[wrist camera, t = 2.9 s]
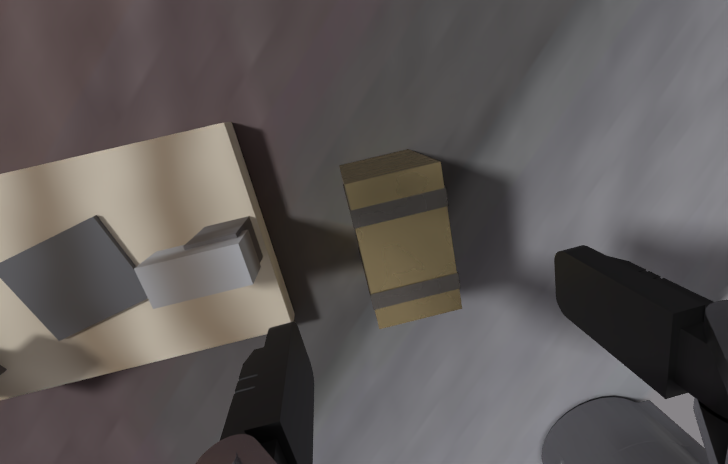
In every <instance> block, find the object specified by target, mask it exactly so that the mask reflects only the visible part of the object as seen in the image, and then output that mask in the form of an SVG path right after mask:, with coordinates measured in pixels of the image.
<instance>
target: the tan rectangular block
mask: <svg viewBox="0 0 728 464" xmlns="http://www.w3.org/2000/svg"><path fill="white" fill-rule="evenodd" d="M339 166H340V170H341V174H342V178H343V182H344V184H343V186H344V190H345V194H346V198H347V202H348V206H349V210H350V214H351V218H352V222H353V226H354V229H355V232H356V236H357V240H358V245H359V247H358V248H359V252H360V256H361V260H362V264H363V268H364V272H365V277H366V281H367V285H368V289H369V293H370V297H371V301H372V305H373V309H374V310H375V313H376V317H377V321H378V325H379V329H382V328H386V327H390V326H394V325H398V324H402V323H406V322H410V321H414V320H418V319H422V318H426V317H430V316H434V315H438V314H442V313H446V312H450V311H454V310H458V309H462V305H461V298H460V291H459V289H460V281H459V275H458V272H457V271H456V264H455V257H454V250H453V243H452V236H451V230H450V223H449V216H448V209H447V206H449V205H448V198H447V192H446V187H444V182H443V175H442V168H441V162H440V161H437V160H435V159H432V158H430V157H427V156H424V155H422V154H419V153H416V152H414V151H411V150H409V149H407V150H403V151H399V152H394V153H390V154H386V155H382V156H377V157H373V158H369V159H365V160H361V161H356V162H352V163H348V164H344V165H339Z"/></svg>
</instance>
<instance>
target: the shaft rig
mask: <svg viewBox="0 0 728 464" xmlns="http://www.w3.org/2000/svg"><path fill="white" fill-rule="evenodd" d="M294 316H295V313H294V310H293V307H292V304H291V301H290V298H289V295H288V292H287V289H286V286H285V283H284V280H283V277H282V274H281V271H280V268H279V265H278V261H277V258H276V255H275V252H274V249H273V246H272V243H271V240H270V237H269V234H268V231H267V228H266V225H265V222H264V219H263V216H262V213H261V210H260V207H259V204H258V201H257V198H256V195H255V192H254V189H253V185H252V182H251V179H250V176H249V173H248V170H247V167H246V164H245V161H244V158H243V155H242V152H241V149H240V146H239V143H238V140H237V137H236V134H235V131H234V128H233V125H232V122H226V123H220V124H216V125H211V126H207V127H203V128H198V129H194V130H190V131H185V132H181V133H177V134H172V135H168V136H164V137H159V138H155V139H151V140H146V141H142V142H138V143H133V144H129V145H125V146H120V147H116V148H112V149H107V150H103V151H99V152H94V153H90V154H86V155H81V156H77V157H73V158H69V159H64V160H60V161H56V162H51V163H47V164H43V165H38V166H34V167H30V168H25V169H21V170H17V171H12V172H8V173H4V174H0V400H4V399H8V398H12V397H16V396H20V395H24V394H28V393H32V392H36V391H40V390H44V389H48V388H52V387H56V386H60V385H64V384H68V383H72V382H76V381H80V380H84V379H88V378H92V377H96V376H100V375H104V374H108V373H112V372H116V371H120V370H124V369H128V368H132V367H136V366H140V365H144V364H148V363H152V362H156V361H160V360H164V359H168V358H172V357H176V356H180V355H184V354H188V353H192V352H196V351H200V350H204V349H208V348H212V347H216V346H220V345H224V344H228V343H232V342H236V341H240V340H244V339H248V338H252V337H256V336H260V335H264V334H267V333H268V330H269V328H271V327H275V326H278V325H282V324H286V323H290V322H293V321H294Z"/></svg>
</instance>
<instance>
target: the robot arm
mask: <svg viewBox="0 0 728 464" xmlns="http://www.w3.org/2000/svg"><path fill="white" fill-rule="evenodd" d="M554 262H555V284H556V299H557V303H558V305H559V308H560V310H561V311H562V313H563V314H564V315H565V316H566V317H567V318H568V319H569V320H570V321H572V322H573V323H574V324H575V325H576V326H578V327H579V328H580V329H581V330H583V331H584V332H585V333H586V334H587V335H589V336H590V337H591V338H592V339H593V340H595V341H596V342H597V343H598V344H600V345H601V346H602V347H603V348H604V349H606V350H607V351H608V352H609V353H610V354H612V355H613V356H614V357H615V358H617V359H618V360H619V361H620V362H621V363H623V364H624V365H625V366H626V367H627V368H629V369H630V370H631V371H632V372H634V373H635V374H636V375H637V376H638V377H640V378H641V379H642V380H643V381H644V382H646V383H647V384H648V385H649V386H651V387H652V388H653V389H654V390H655V391H657V392H658V393H659V394H660V395H661V396H663V397H664V398H665V399H667V398H671V397H674V396H678V395H681V394H685V393H690V394H691V395H692V396H693V397H695V399H694V406H693V407H694V413H695V416H696V420H697V423H698V426H699V430H700V433H701V436H702V440H703V443H704V447H705V448H703V447H702V446H701V445H700V444H699V443H698V442H697V441H695V440H694V439H693V438H692V437H691V436H690V435H689V434H687V433H686V432H685V431H684V430H683V429H681V427H679V426H678V425H677V424H676V423H675V422H674V421H672V420H671V419H670V418H669V417H668V416H667V415H666V414H665V413H663V412H662V411H661V410H660V409H659V408H658V407H657V406H655V405H654V404H653V403H652V402H651V401H649V400H647V401H643V402H633V401H631V400H628V399H625V398H617V397H608V398H600V399H596V400H592V401H589V402H587V403H584V404H582V405H580V406H578V407H576V408H574V409H573V410H571V411H569V412H568V413H567V414H565V415H564V416H563V417H562V418H561V419H559V420H558V421H557V423H556V424H555V425H554V426H553V427H552V428H551V430H550V431H549V433H548V435H547V437H546V438H545V441H544V444H543V447H542V461H543V464H728V300H722V301H717V302H713V301H711V300H709V299H707V298H704V297H702V296H700V295H698V294H696V293H694V292H692V291H690V290H688V289H686V288H683V287H681V286H679V285H677V284H675V283H673V282H671V281H669V280H667V279H665V278H663V279H661V278H660V276H658V275H656V274H654V273H652V272H650V271H648V272H647V271H646V269H644V268H641V267H639V266H637V265H635V264H633V263H631V262H629V261H625V260H621V259H617V258H613V257H609V256H606V255H604V254H602V253H600V252H598V251H596V250H594V249H592V248H590V247H588V246H584V245H582V246H578V247H574V248H571V249H567V250H563V251H559V252H557V253H556V255H555V260H554ZM313 418H314V377H313V371H312V367H311V363H310V360H309V357H308V354H307V352H306V349H305V346H304V343H303V340H302V337H301V334H300V331H299V329H298V326H297V324H296V322H294V321H293V322H290V323H286V324H282V325H278V326H275V327H271V328H269V330H268V333H267V337H266V342H265V346H264V347H263V348H259V349H256V350H254V351H253V352H252V353H251V355H250V356H249V357H248V359H247V360H246V361H245V363H244V364H243V367H242V370H241V373H240V376H239V381H238V383H237V386H236V389H235V394H234V396H233V399H232V403H231V406H230V409H229V412H228V416H227V419H226V422H225V425H224V429H223V432H222V435H221V438H220V441H219V442H217V443H216V444H214V445H213V446H212V447H210V448H209V449H208V450H207V451H206V452H205V453H204V454H203V455H202V456H201V457H200V458H199V460H198V461H197V462H196V464H313Z"/></svg>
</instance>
